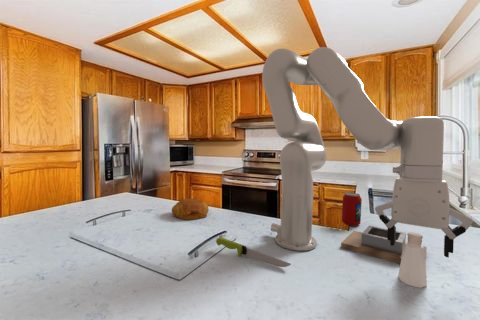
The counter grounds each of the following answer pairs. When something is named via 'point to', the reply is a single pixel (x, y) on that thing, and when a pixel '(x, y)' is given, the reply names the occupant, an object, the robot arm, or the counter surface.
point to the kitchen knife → (251, 253)
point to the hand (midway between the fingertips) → (418, 249)
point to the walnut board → (355, 245)
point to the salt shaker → (413, 262)
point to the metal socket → (383, 240)
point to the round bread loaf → (190, 209)
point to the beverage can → (351, 209)
